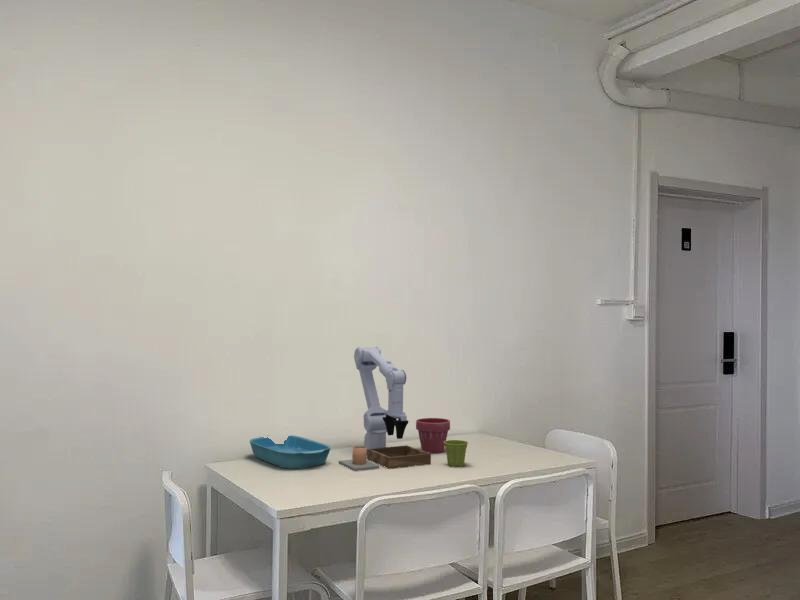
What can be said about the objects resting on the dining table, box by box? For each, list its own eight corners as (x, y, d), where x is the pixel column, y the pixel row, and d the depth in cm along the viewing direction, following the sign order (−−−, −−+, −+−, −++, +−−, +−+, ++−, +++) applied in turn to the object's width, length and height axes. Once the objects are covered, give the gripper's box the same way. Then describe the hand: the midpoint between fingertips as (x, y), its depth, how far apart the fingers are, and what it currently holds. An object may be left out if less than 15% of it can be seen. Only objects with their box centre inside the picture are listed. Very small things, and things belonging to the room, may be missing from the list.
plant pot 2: (439, 465, 273) (439, 442, 273) (449, 461, 281) (449, 438, 281) (462, 468, 269) (462, 445, 269) (471, 464, 277) (472, 441, 277)
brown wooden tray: (366, 459, 282) (367, 449, 282) (406, 455, 291) (407, 445, 291) (389, 468, 266) (389, 457, 266) (430, 464, 275) (430, 453, 275)
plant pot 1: (409, 448, 304) (410, 418, 304) (439, 446, 310) (439, 416, 310) (425, 455, 291) (425, 423, 291) (455, 453, 297) (456, 421, 297)
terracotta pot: (351, 462, 272) (351, 445, 272) (364, 461, 274) (365, 445, 274) (353, 465, 267) (354, 448, 267) (367, 464, 269) (367, 448, 269)
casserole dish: (340, 466, 271) (341, 446, 271) (289, 474, 257) (289, 454, 257) (289, 449, 299) (289, 432, 299) (239, 456, 285) (240, 438, 285)
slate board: (338, 463, 274) (338, 460, 274) (362, 461, 279) (362, 458, 279) (354, 471, 262) (354, 468, 262) (379, 468, 267) (379, 465, 267)
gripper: (413, 403, 275) (413, 439, 275) (396, 398, 288) (395, 433, 288) (397, 404, 272) (396, 440, 272) (380, 399, 285) (379, 434, 284)
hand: (395, 436), depth 279 cm, fingers open, 7 cm apart
